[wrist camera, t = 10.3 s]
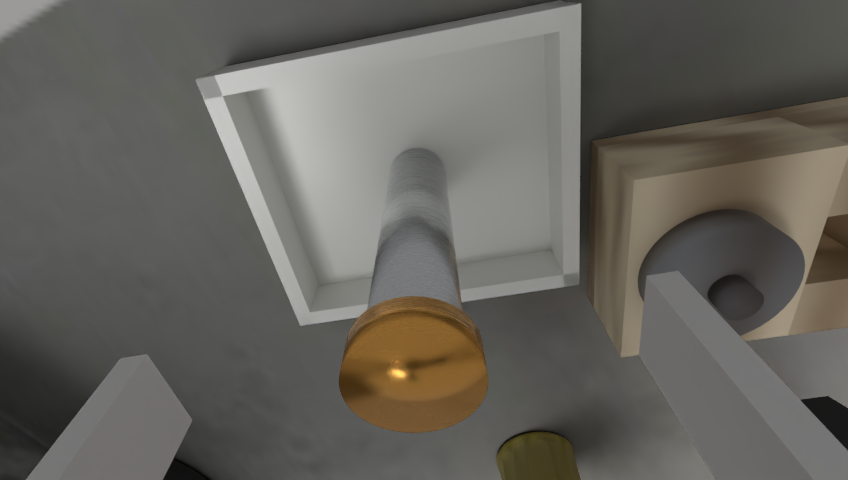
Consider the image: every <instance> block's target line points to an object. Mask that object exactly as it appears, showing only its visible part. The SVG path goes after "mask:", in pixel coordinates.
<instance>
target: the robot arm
mask: <svg viewBox="0 0 848 480" xmlns="http://www.w3.org/2000/svg"><path fill="white" fill-rule="evenodd" d="M639 357H640V358H641V360H642V362H643V363H644V365H645V366H646V368H647V370H648V371H649V373H650V375H651V376H652V378H653V379H654V381H655V383H656V384H657V386H658V387H659V389H660V391H661V392H662V394H663V395H664V397H665V399H666V400H667V402H668V404H669V405H670V407H671V408H672V410H673V412H674V413H675V415H676V416H677V418H678V420H679V421H680V423H681V425H682V426H683V428H684V429H685V431H686V433H687V434H688V436H689V437H690V439H691V441H692V442H693V444H694V446H695V447H696V449H697V450H698V452H699V454H700V455H701V457H702V458H703V460H704V462H705V463H706V465H707V466H708V468H709V470H710V471H711V473H712V475H713V476H714V478H715V479H716V480H848V408H846V407H845V406H843V405H842V404H840V403H838V402H837V401H835V400H833V399H832V398H830V397H828V396H825V397H818V398H810V399H803V400H800V399H799V398H798V397H797V396H796V395H795V394H794V393H793V392H792V391H791V390H790V389H789V388H788V387H787V386H786V385H785V384H784V382H783V381H782V380H781V379H780V378H779V377H778V376H777V375H776V374H775V373H774V372H773V371H772V370H771V369H770V368H769V367H768V365H767V364H766V363H765V362H764V361H763V360H762V359H761V358H760V357H759V356H758V355H757V354H756V353H755V352H754V351H753V350H752V349H751V347H750V346H749V345H748V344H747V343H746V342H745V341H744V340H743V339H742V338H741V337H740V336H739V335H738V334H737V333H736V332H735V331H734V329H733V328H732V327H731V326H730V325H729V324H728V323H727V322H726V321H725V320H724V319H723V318H722V317H721V316H720V315H719V314H718V312H717V311H716V310H715V309H714V308H713V307H712V306H711V305H710V304H709V303H708V302H707V301H706V300H705V299H704V298H703V297H702V296H701V294H700V293H699V292H698V291H697V290H696V289H695V288H694V287H693V286H692V285H691V284H690V283H689V282H688V281H687V280H686V279H685V278H684V276H683V275H682V274H681V273H680V272H679V271H674V272H667V273H661V274H654V275H648V276H647V277H646V287H645V297H644V307H643V317H642V327H641V336H640V346H639ZM192 421H193V420H192V418H191V417H190V416H189V414H188V413H187V411H186V410H185V408H184V407H183V405H182V404H181V402H180V401H179V400H178V398H177V397H176V395H175V394H174V392H173V391H172V389H171V388H170V386H169V385H168V384H167V382H166V381H165V379H164V378H163V376H162V375H161V373H160V372H159V370H158V369H157V368H156V366H155V365H154V363H153V362H152V360H151V359H150V357H149V356H148V354H144V355H138V356H132V357H125V358H120V359H119V361H118V362H117V363H116V364H115V366H114V367H113V368H112V370H111V371H110V372H109V373H108V375H107V376H106V377H105V379H104V380H103V381H102V382H101V384H100V385H99V386H98V388H97V389H96V390H95V391H94V393H93V394H92V395H91V397H90V398H89V399H88V400H87V402H86V403H85V404H84V406H83V407H82V408H81V409H80V411H79V412H78V413H77V415H76V416H75V417H74V418H73V420H72V421H71V422H70V424H69V425H68V426H67V427H66V429H65V430H64V431H63V432H62V434H61V435H60V436H59V438H58V439H57V440H56V441H55V443H54V444H53V445H52V447H51V448H50V449H49V450H48V452H47V453H46V454H45V456H44V457H43V458H42V459H41V461H40V462H39V463H38V465H37V466H36V467H35V468H34V470H33V471H32V472H31V474H30V475H29V476H28V477H27V479H26V480H207V479H206V478H205V477H203V476H202V475H200V474H199V473H198V472H196V471H194V470H193V469H191V468H189V467H187V466H185V465H183V464H181V463H179V462H177V461H174V460H173V458H174V456H175V454H176V452H177V450H178V448H179V446H180V444H181V442H182V441H183V439H184V437H185V435H186V433H187V431H188V429H189V427H190V425H191V423H192Z"/></svg>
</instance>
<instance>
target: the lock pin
mask: <svg viewBox="0 0 848 480" xmlns="http://www.w3.org/2000/svg"><path fill="white" fill-rule="evenodd" d="M339 387H340V391H341V394H342V397H343V399H344V401H345V402H346V404H347V405H348V406H349V408H350V409H351V410H352V411H353V412H354V413H356V414H357V415H358V416H359V417H361V418H362V419H364V420H366V421H367V422H369V423H371V424H373V425H376V426H378V427H381V428H384V429H388V430H392V431H398V432H407V433H420V432H430V431H436V430H440V429H444V428H447V427H450V426H452V425H454V424H457V423H459V422H460V421H462V420H464V419H466V418H467V417H468V416H470V415H471V414H472V413H473V412H474V411H475V410H476V409H477V408H478V407H479V406H480V404H481V403H482V401H483V400H484V398H485V395H486V392H487V389H488V374H487V368H486V362H485V356H484V350H483V344H482V339H481V335H480V332H479V330H478V328H477V326H476V325H475V323H474V322H473V321H472V319H471V318H470V317H469V316H468V315H467V314H465V313H464V312H463V309H462V301H461V293H460V285H459V277H458V269H457V261H456V253H455V245H454V237H453V229H452V221H451V213H450V205H449V197H448V189H447V181H446V173H445V168H444V165H443V163H442V161H441V159H440V158H439V157H438V156H437V155H436V154H435V153H433V152H431V151H429V150H427V149H423V148H412V149H408V150H405V151H403V152H402V153H400V154H399V155H398V156H397V157H396V158H395V159H394V161H393V162H392V165H391V168H390V173H389V179H388V185H387V191H386V197H385V203H384V210H383V216H382V222H381V228H380V234H379V240H378V247H377V253H376V259H375V265H374V271H373V277H372V283H371V290H370V296H369V302H368V308H367V310H366V311H365V312H364V313H363V314H361V315H360V316H359V317H358V318H357V319H356V321H355V322H354V324H353V325H352V326H351V329H350V331H349V333H348V337H347V341H346V346H345V351H344V355H343V360H342V365H341V370H340V375H339Z"/></svg>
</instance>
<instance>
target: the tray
mask: <svg viewBox="0 0 848 480" xmlns="http://www.w3.org/2000/svg"><path fill="white" fill-rule="evenodd" d="M195 80H196V83H197V85H198V87H199V90H200V92H201V94H202V97H203V99H204V101H205V104H206V106H207V108H208V111H209V113H210V115H211V118H212V120H213V122H214V125H215V127H216V130H217V132H218V134H219V137H220V139H221V141H222V144H223V146H224V148H225V151H226V153H227V155H228V158H229V160H230V162H231V165H232V167H233V169H234V172H235V174H236V176H237V179H238V181H239V183H240V186H241V188H242V190H243V193H244V195H245V197H246V200H247V202H248V205H249V207H250V209H251V212H252V214H253V216H254V219H255V221H256V223H257V226H258V228H259V230H260V233H261V235H262V237H263V240H264V242H265V244H266V247H267V249H268V251H269V254H270V256H271V258H272V261H273V263H274V265H275V268H276V270H277V272H278V275H279V277H280V279H281V282H282V284H283V287H284V289H285V291H286V294H287V296H288V298H289V301H290V303H291V305H292V308H293V310H294V312H295V315H296V317H297V319H298V322H299V324H300V326H302V325H309V324H316V323H323V322H329V321H336V320H343V319H350V318H357V317H359V316H360V315H361V314H363V313H364V312H365V311H366V310H367V308H368V302H369V296H370V290H371V283H372V277H373V271H374V265H375V259H376V253H377V247H378V240H379V234H380V228H381V222H382V216H383V210H384V203H385V197H386V191H387V185H388V179H389V173H390V168H391V165H392V162H393V161H394V159H395V158H396V157H397V156H398V155H399V154H400V153H402V152H403V151H405V150H408V149H412V148H423V149H427V150H429V151H431V152H433V153H435V154H436V155H437V156H438V157H439V158H440V159H441V161H442V163H443V165H444V168H445V173H446V181H447V189H448V197H449V205H450V213H451V221H452V229H453V237H454V245H455V253H456V261H457V269H458V277H459V285H460V293H461V301H462V302H466V301H472V300H479V299H486V298H493V297H500V296H506V295H513V294H520V293H527V292H534V291H540V290H547V289H554V288H561V287H568V286H574V285H579V252H580V109H581V3H575V2H567V1H560V0H558V1H553V2H547V3H542V4H537V5H532V6H527V7H522V8H517V9H512V10H507V11H502V12H497V13H492V14H487V15H482V16H477V17H472V18H467V19H462V20H457V21H452V22H447V23H441V24H436V25H431V26H426V27H421V28H416V29H411V30H406V31H401V32H396V33H391V34H386V35H381V36H376V37H371V38H366V39H361V40H356V41H351V42H346V43H340V44H335V45H330V46H325V47H320V48H315V49H310V50H305V51H300V52H295V53H290V54H285V55H280V56H275V57H270V58H265V59H260V60H255V61H250V62H245V63H240V64H234V65H229V66H224V67H222V68H220V69H217V70H215V71H213V72H211V73H208V74H206V75H204V76H202V77H199V78H197V79H195Z"/></svg>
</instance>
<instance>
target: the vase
mask: <svg viewBox="0 0 848 480" xmlns="http://www.w3.org/2000/svg"><path fill="white" fill-rule="evenodd" d="M497 465H498V468H499V471H500V474H501V478H502V480H581V479H580V476H579V472H578V468H577V465H576V461H575V456H574V450H573V447H572V445H571V444H570V442H569V441H568V440H566V439H565V438H563V437H562V436H560V435H557V434H554V433H550V432H530V433H525V434H522V435H519V436H516V437H514V438H512V439H510V440H509V441H507V442H506V443H505V444H504V445H503V446H502V448H501V449H500V451H499V452H498V454H497Z"/></svg>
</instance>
